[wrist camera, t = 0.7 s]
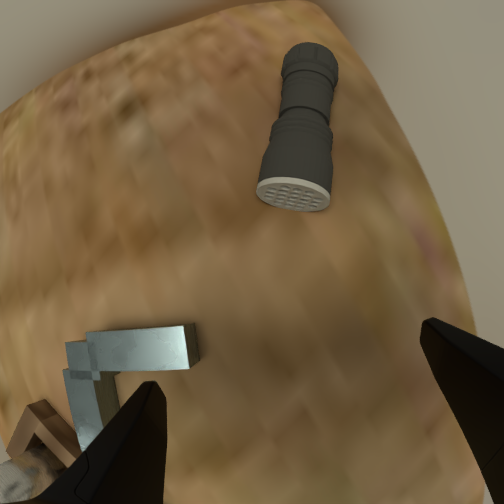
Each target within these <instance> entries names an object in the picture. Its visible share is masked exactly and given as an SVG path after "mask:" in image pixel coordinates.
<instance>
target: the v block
mask: <svg viewBox="0 0 504 504" xmlns="http://www.w3.org/2000/svg"><path fill="white" fill-rule="evenodd" d="M86 339H87V340H80V341H72V342H65V345H66V353H67V359H68V366H69V368H67V369H64V370H63V376H64V381H65V386H66V391H67V396H68V401H69V405H70V410H71V414H72V418H73V422H74V426H75V430H76V433H77V437H78V440H79V444H80V447H81V450H82V452H83V451H84V450H86V448H87V446H88V445H89V444H90V443H91V442H92V441H93V440H94V438H95V437H96V436H97V435H98V434H99V433H100V432H101V430H102V429H103V428H104V427H105V426H106V425H107V423H108V422H109V421H110V420H111V419H112V418H113V416H114V415H115V414H116V413H117V412H118V411H119V410H120V407H119V402H118V397H117V392H116V387H115V381H114V375H116V374H118V373H120V371H155V370H177V369H190V368H191V367H192V366H194V365H195V364H196V363H197V362H199V361H200V357H199V350H198V343H197V336H196V328H195V323H193V324H182V325H171V326H160V327H147V328H133V329H118V330H103V331H94V332H86Z"/></svg>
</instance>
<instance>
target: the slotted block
mask: <svg viewBox="0 0 504 504" xmlns="http://www.w3.org/2000/svg"><path fill="white" fill-rule="evenodd" d="M41 441H43V443H44V444H45V445H46V446H47V447H48V448H49V449H50V450H51V451H52V452H53V453H54V454H55V455H56V456H57V457H58V458H59V459H60V460H61V461H62V462H63V463H64V464H65V465H66V466H67V467H69V466H70V465H71V464H72V463H73V462H74V461H75V460H76V459H77V458H78V457H79V456H80V454H81V453H82V450H81V447H80V444H79V440H78V437H77V433H76V432H75V431H74V430H73V429H72V428H71V427H70V426H69V425H68V424H67V423H66V422H65V421H64V420H63V419H62V418H61V417H60V416H59V415H58V414H57V412H56V411H55V410H54V409H53V408H52V407H51V406H50V405H49V403H48V402H47V401H46V400H45V399H44V400H41V401H38V402H35V403H32V404H29V405H27V406H26V408H25V410H24V412H23V414H22V416H21V418H20V420H19V423H18V425H17V427H16V429H15V431H14V433H13V436H12V438H11V440H10V442H9V445H8V447H7V449H6V452H7V453H8V454H9V456H10V457H11V458H14V457H16V456H18V455H20V454H22V453H24V452H26V451H28V450H30V449H32V448H34V447H36V446H38V445H40V443H41Z"/></svg>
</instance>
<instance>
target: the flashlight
mask: <svg viewBox="0 0 504 504" xmlns="http://www.w3.org/2000/svg"><path fill="white" fill-rule="evenodd" d="M281 76H282V77H283V78H282V79H283V86H282V91H281V96H282V101H281V106H280V112H279V119H277V120H276V121H275V122H274V124H273V125H272V129H271V136H270V140H269V141H270V144H269V146H268V148H267V149H266V151H265V153H264V156H263V159H262V164H261V170H260V175H259V180H258V185H257V190H256V194H257V196H258V197H259V198H260V199H261V200H263V201H264V202H266V203H268V204H270V205H273V206H276V207H279V208H284V209H290V210H296V211H303V212H309V211H319V210H322V209H325V208H326V207H328V205H329V203H330V193H331V184H332V174H333V164H332V158H331V153H330V152H331V150H332V142H333V141H332V139H333V133H332V131H331V129H330V128H329V120H330V107H331V104H332V101H333V91H334V87H335V86H336V85H337V82H338V63H337V60H336V59H335V57H334V55H333V53H332V52H331V51H330V50H329V49H328V48H326V47H324V46H322V45H320V44H317V43H310V42H306V43H300V44H297V45H295V46H294V47H292V48H291V49H290V51H288V53H287V54H286V55H285V57H284V61H283V66H282V71H281Z"/></svg>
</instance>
